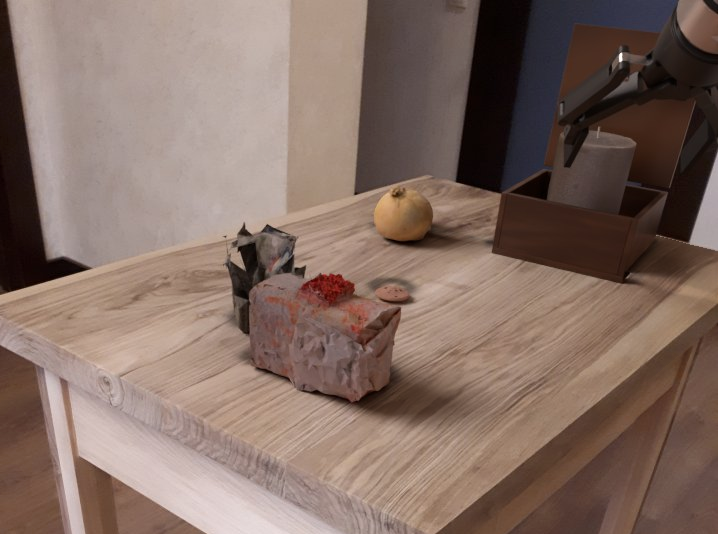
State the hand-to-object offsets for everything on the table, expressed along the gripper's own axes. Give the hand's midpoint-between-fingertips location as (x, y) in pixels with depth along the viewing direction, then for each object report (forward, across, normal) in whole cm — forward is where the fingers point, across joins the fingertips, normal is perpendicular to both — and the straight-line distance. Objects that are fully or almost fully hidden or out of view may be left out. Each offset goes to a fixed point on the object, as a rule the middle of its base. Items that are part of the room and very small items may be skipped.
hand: (625, 160), depth 92 cm
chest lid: (+11, +4, +15) cm, 19 cm away
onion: (+19, -24, -2) cm, 31 cm away
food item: (-12, -34, -32) cm, 48 cm away
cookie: (+3, -26, -17) cm, 31 cm away
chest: (+18, 0, -2) cm, 18 cm away
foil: (-1, -39, -21) cm, 45 cm away
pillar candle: (+17, -1, -2) cm, 17 cm away
